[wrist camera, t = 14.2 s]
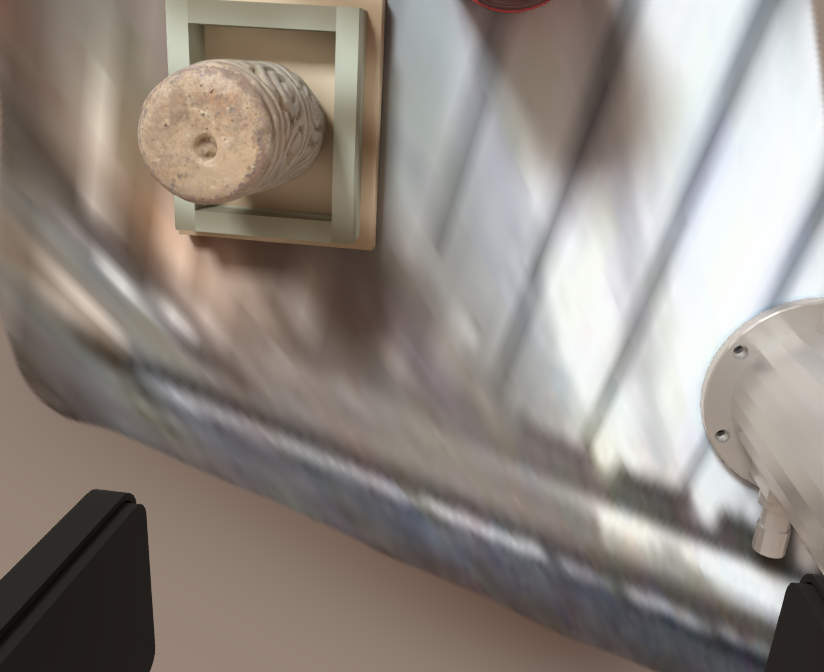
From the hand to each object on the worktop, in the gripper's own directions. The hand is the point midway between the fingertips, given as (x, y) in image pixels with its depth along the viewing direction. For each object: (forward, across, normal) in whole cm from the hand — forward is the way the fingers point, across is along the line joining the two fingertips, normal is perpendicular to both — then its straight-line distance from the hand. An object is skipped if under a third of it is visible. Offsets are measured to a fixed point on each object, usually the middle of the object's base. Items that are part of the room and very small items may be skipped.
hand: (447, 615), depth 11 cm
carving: (+35, +13, -4) cm, 38 cm away
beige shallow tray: (+36, +13, -4) cm, 39 cm away
